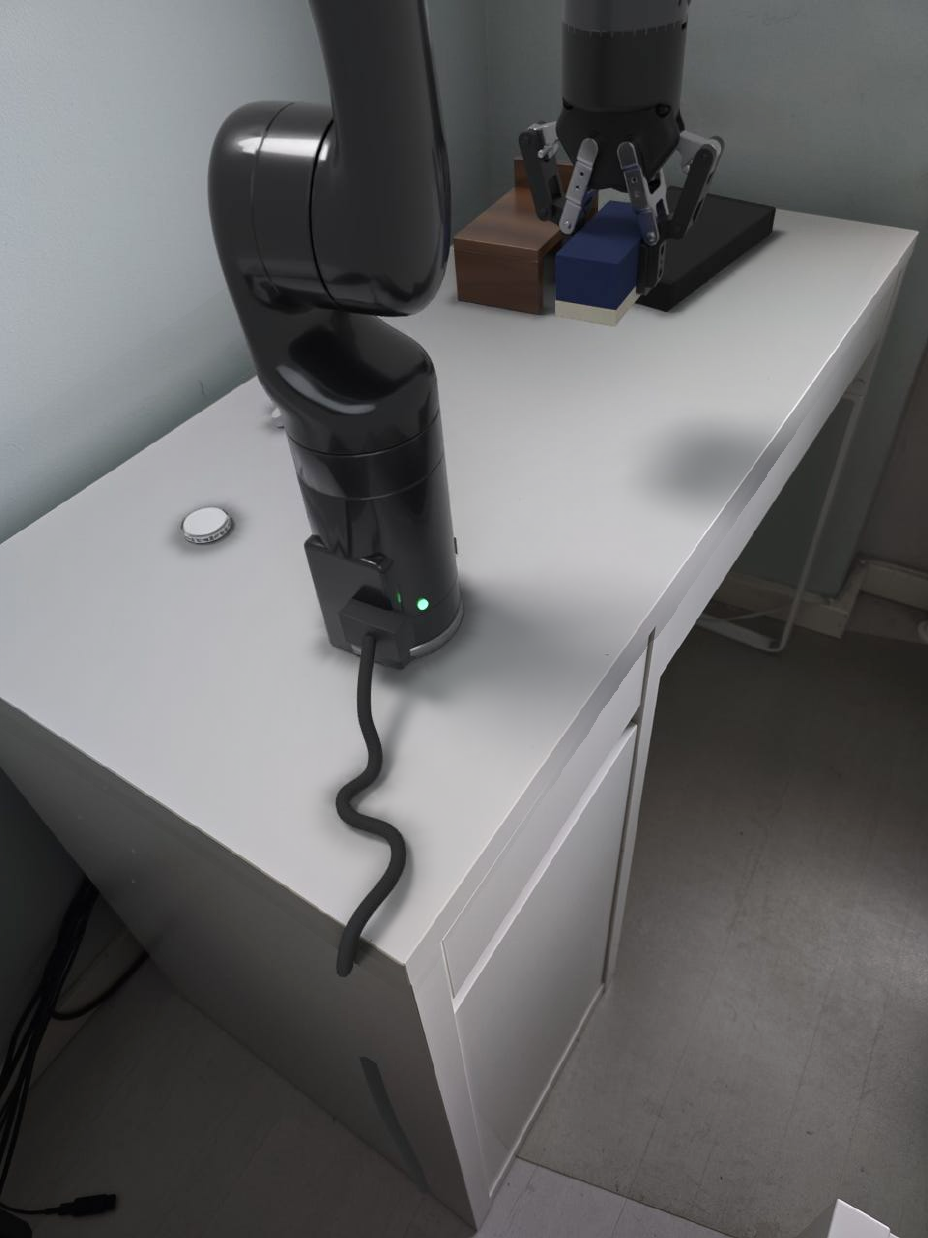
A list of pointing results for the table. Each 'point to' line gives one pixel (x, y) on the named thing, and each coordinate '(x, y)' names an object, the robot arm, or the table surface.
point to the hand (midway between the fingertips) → (611, 283)
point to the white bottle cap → (205, 524)
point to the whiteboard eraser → (599, 267)
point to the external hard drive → (707, 245)
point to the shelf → (509, 248)
